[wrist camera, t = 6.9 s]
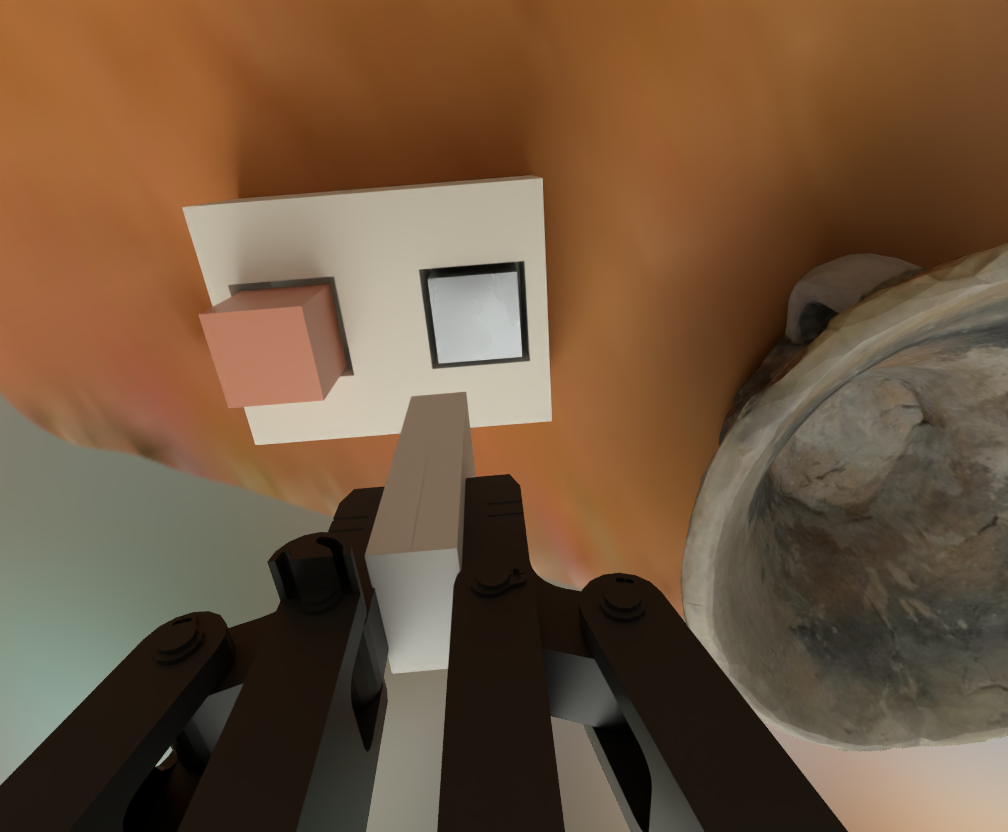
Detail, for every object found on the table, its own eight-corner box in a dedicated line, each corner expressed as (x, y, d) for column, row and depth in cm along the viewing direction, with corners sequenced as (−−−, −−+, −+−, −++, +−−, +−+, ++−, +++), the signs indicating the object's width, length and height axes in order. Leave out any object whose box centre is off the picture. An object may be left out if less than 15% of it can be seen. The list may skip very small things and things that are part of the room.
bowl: (613, 222, 30) (718, 271, 17) (1081, 176, 30) (1564, 188, 17) (613, 584, 42) (676, 784, 28) (952, 552, 42) (1176, 738, 28)
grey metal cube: (434, 262, 29) (427, 278, 25) (512, 256, 29) (517, 271, 25) (444, 337, 31) (438, 363, 27) (516, 331, 31) (522, 356, 27)
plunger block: (237, 198, 29) (182, 207, 24) (531, 175, 29) (542, 178, 24) (291, 400, 34) (255, 445, 29) (540, 380, 34) (551, 420, 29)
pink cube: (242, 290, 26) (198, 314, 22) (329, 283, 26) (301, 306, 22) (266, 371, 28) (228, 408, 24) (347, 365, 28) (323, 400, 24)
